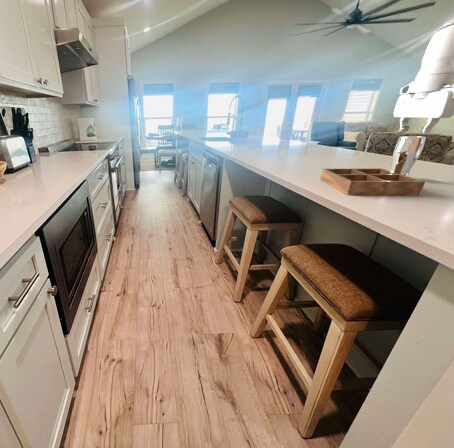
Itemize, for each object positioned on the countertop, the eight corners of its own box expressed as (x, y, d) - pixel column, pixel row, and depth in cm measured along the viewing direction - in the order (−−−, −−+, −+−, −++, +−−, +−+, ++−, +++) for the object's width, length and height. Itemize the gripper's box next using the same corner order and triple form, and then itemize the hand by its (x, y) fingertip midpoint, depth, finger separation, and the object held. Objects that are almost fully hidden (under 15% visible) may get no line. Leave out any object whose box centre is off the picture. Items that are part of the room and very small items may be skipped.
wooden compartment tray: (377, 179, 90) (381, 168, 88) (419, 195, 72) (425, 181, 71) (320, 179, 93) (322, 168, 91) (347, 194, 76) (351, 181, 74)
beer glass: (392, 182, 86) (408, 138, 80) (379, 177, 93) (393, 136, 87) (414, 182, 85) (433, 137, 79) (400, 177, 92) (416, 135, 85)
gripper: (476, 81, 67) (452, 134, 72) (417, 88, 85) (402, 130, 91) (449, 82, 68) (428, 134, 74) (397, 89, 86) (383, 130, 92)
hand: (413, 132), depth 82 cm, fingers open, 8 cm apart
